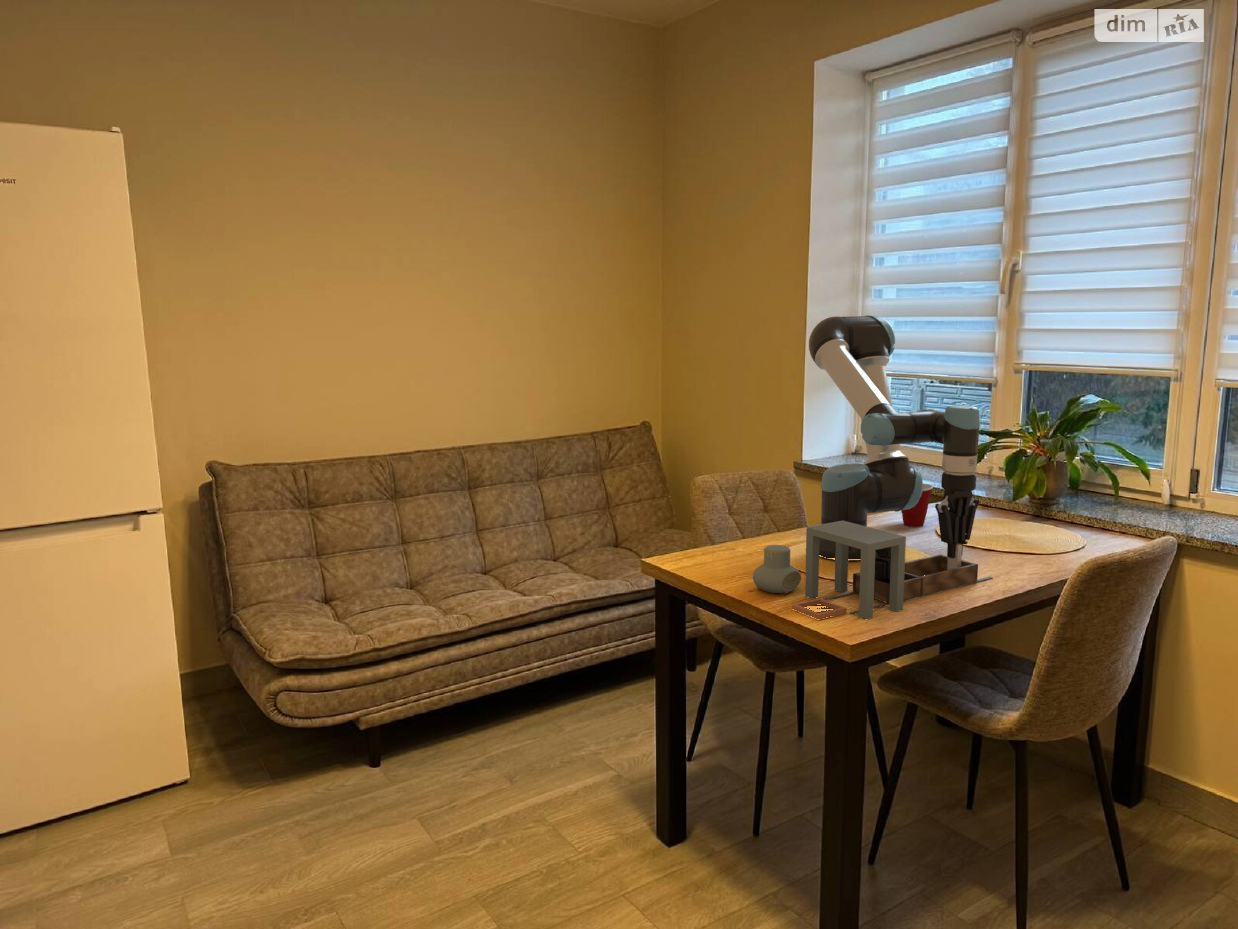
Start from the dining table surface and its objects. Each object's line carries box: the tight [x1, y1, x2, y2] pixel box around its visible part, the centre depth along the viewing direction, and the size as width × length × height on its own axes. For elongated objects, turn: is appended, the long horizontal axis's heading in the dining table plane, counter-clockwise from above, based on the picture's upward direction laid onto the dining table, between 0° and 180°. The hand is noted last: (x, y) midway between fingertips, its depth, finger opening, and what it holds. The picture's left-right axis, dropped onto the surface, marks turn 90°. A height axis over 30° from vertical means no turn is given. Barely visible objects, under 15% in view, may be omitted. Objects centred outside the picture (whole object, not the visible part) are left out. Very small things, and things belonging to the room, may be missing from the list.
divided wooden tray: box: [852, 553, 979, 603], centre depth 199 cm, size 29×11×4 cm, turn 121°
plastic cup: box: [900, 482, 934, 528], centre depth 258 cm, size 11×11×12 cm
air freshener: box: [752, 544, 802, 594], centre depth 198 cm, size 11×8×10 cm
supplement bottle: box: [874, 547, 891, 584], centre depth 193 cm, size 7×7×12 cm
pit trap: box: [791, 597, 848, 620], centre depth 184 cm, size 8×8×1 cm
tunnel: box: [804, 521, 994, 620], centre depth 197 cm, size 46×18×16 cm, turn 121°
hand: (953, 570), depth 206 cm, fingers closed
